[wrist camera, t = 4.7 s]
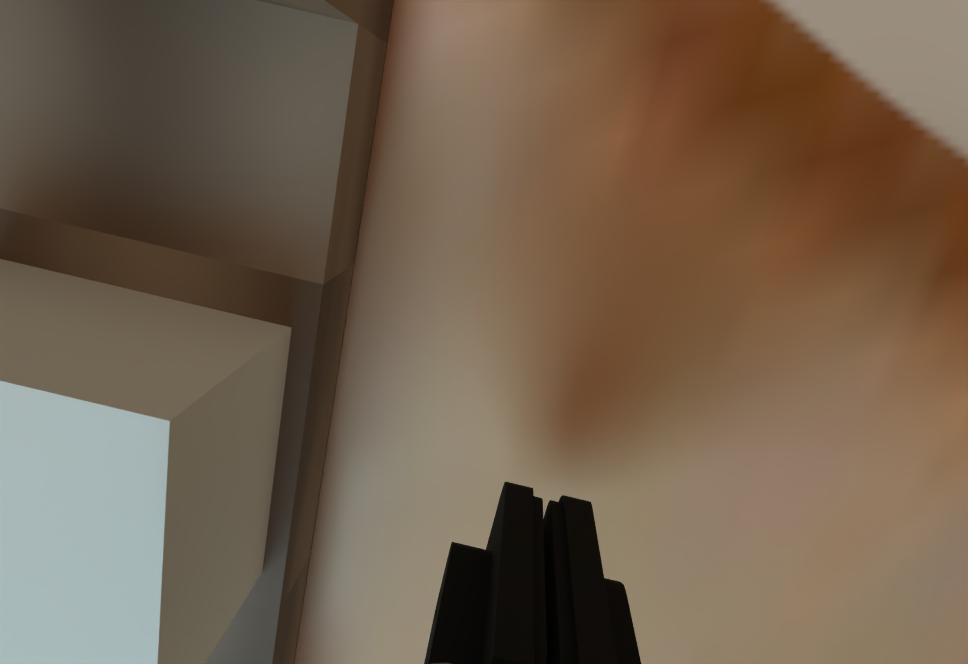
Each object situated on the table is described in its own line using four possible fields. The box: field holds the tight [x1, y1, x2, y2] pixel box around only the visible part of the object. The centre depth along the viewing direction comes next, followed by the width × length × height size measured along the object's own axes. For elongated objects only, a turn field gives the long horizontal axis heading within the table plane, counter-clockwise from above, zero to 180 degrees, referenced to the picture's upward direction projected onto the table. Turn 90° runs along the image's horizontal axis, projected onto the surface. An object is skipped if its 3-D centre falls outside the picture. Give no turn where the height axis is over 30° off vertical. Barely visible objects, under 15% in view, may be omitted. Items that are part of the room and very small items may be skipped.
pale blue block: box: [0, 259, 291, 664], centre depth 10 cm, size 6×6×4 cm
